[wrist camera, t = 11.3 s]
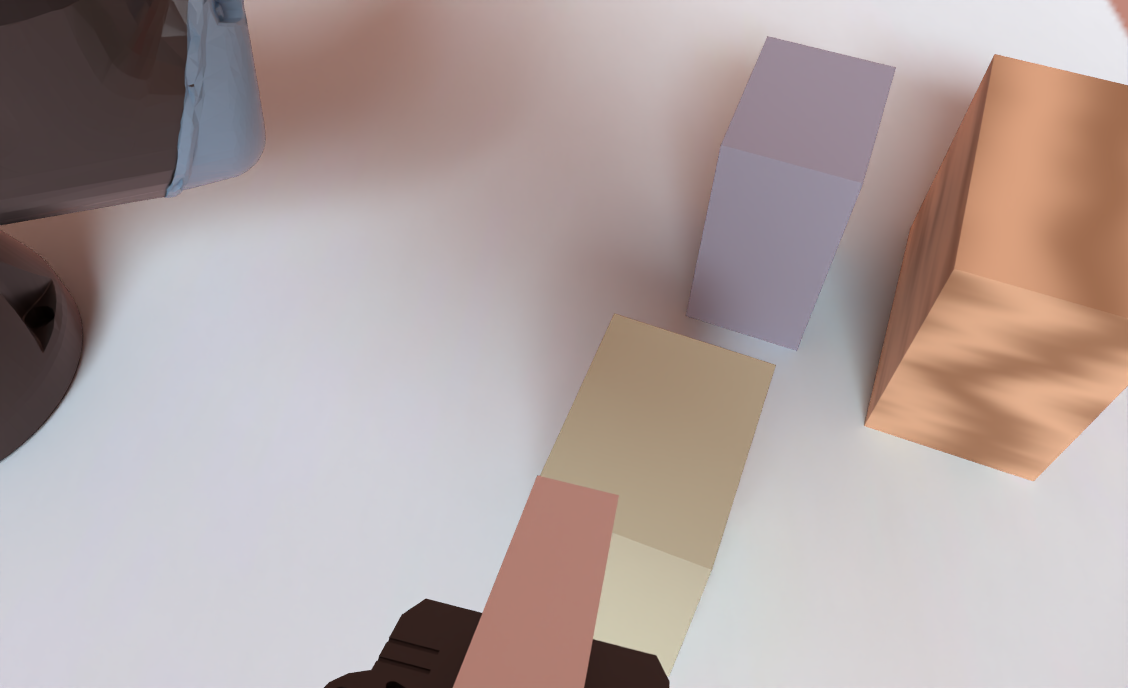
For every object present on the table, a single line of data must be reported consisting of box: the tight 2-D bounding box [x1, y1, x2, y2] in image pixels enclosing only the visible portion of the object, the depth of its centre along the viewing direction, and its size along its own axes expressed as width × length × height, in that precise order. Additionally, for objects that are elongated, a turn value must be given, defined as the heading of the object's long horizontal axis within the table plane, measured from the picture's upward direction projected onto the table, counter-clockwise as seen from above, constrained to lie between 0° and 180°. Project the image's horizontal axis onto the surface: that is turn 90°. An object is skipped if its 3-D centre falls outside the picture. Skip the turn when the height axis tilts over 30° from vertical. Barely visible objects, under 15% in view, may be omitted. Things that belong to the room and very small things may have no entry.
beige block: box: [540, 313, 776, 677], centre depth 34 cm, size 6×8×12 cm
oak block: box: [864, 54, 1128, 481], centre depth 42 cm, size 8×14×12 cm, turn 158°
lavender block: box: [686, 36, 896, 351], centre depth 44 cm, size 6×8×12 cm
